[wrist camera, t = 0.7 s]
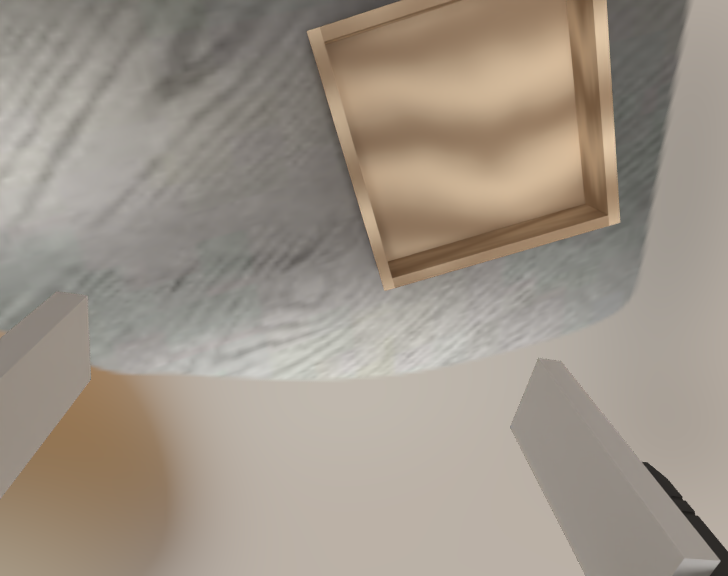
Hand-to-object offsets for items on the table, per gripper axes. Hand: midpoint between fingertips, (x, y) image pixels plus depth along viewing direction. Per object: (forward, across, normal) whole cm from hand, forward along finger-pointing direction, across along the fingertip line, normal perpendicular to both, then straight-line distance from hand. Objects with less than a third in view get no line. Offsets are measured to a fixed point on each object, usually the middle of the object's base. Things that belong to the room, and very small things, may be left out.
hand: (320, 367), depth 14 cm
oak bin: (+24, +9, +6) cm, 26 cm away
